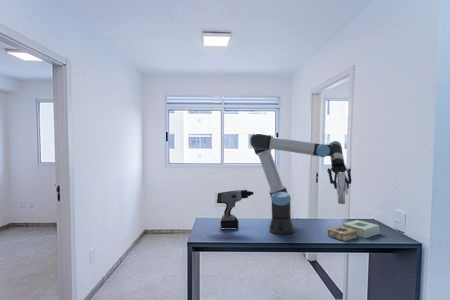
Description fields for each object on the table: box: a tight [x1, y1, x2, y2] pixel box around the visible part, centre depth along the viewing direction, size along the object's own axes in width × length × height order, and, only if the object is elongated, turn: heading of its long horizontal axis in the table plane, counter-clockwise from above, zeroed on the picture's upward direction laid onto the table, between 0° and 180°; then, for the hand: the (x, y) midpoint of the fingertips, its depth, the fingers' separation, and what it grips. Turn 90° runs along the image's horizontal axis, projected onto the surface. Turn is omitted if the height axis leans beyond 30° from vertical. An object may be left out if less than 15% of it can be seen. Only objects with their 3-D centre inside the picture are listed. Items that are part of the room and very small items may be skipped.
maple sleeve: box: [327, 225, 358, 242], centre depth 158 cm, size 11×11×4 cm
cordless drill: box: [216, 189, 254, 229], centre depth 179 cm, size 8×24×25 cm, turn 89°
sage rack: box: [342, 219, 380, 239], centre depth 164 cm, size 14×14×5 cm
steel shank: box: [337, 171, 346, 205], centre depth 157 cm, size 4×4×18 cm
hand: (342, 192), depth 154 cm, fingers closed on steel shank, 4 cm apart
